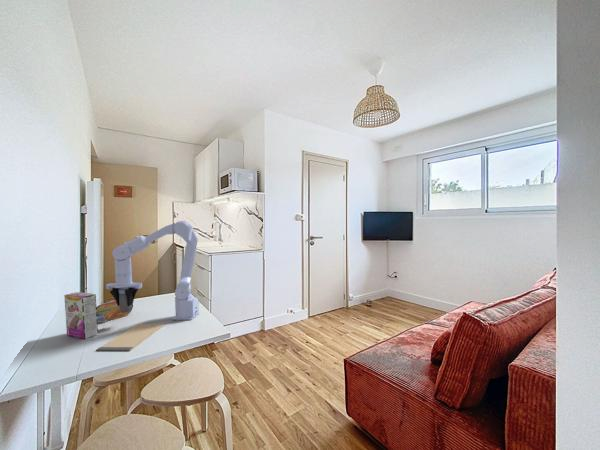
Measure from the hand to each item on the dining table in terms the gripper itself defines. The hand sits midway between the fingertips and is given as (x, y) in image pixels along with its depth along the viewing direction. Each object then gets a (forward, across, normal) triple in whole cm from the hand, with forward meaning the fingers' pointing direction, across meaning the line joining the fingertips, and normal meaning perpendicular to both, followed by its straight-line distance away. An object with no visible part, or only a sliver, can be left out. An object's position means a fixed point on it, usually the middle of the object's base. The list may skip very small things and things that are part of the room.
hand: (125, 305), depth 107 cm
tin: (+9, -11, +7) cm, 16 cm away
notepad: (+9, +11, -10) cm, 17 cm away
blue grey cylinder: (+2, 0, 0) cm, 2 cm away
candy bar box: (+9, -11, -9) cm, 17 cm away
